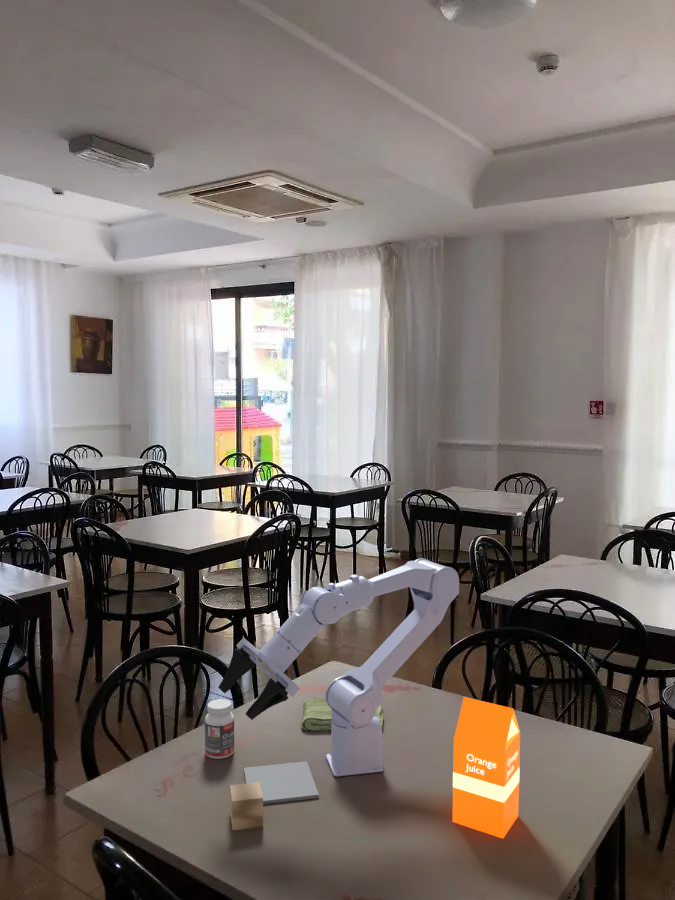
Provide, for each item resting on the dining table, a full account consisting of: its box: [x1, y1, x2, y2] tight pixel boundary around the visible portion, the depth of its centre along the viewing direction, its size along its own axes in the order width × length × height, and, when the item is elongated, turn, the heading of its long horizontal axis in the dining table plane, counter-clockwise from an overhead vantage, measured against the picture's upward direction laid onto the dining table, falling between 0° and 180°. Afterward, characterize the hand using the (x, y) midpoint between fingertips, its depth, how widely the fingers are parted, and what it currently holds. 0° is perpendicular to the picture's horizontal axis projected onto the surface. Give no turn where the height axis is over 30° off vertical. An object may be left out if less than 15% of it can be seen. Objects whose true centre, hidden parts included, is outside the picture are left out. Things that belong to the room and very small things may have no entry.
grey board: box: [243, 761, 320, 805], centre depth 134 cm, size 12×12×1 cm
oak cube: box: [229, 782, 264, 831], centre depth 123 cm, size 5×5×5 cm
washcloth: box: [300, 696, 384, 732], centre depth 161 cm, size 13×18×3 cm
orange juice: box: [451, 696, 521, 839], centre depth 123 cm, size 8×9×20 cm
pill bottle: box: [204, 698, 235, 760], centre depth 145 cm, size 6×6×10 cm
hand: (234, 703), depth 129 cm, fingers open, 7 cm apart
